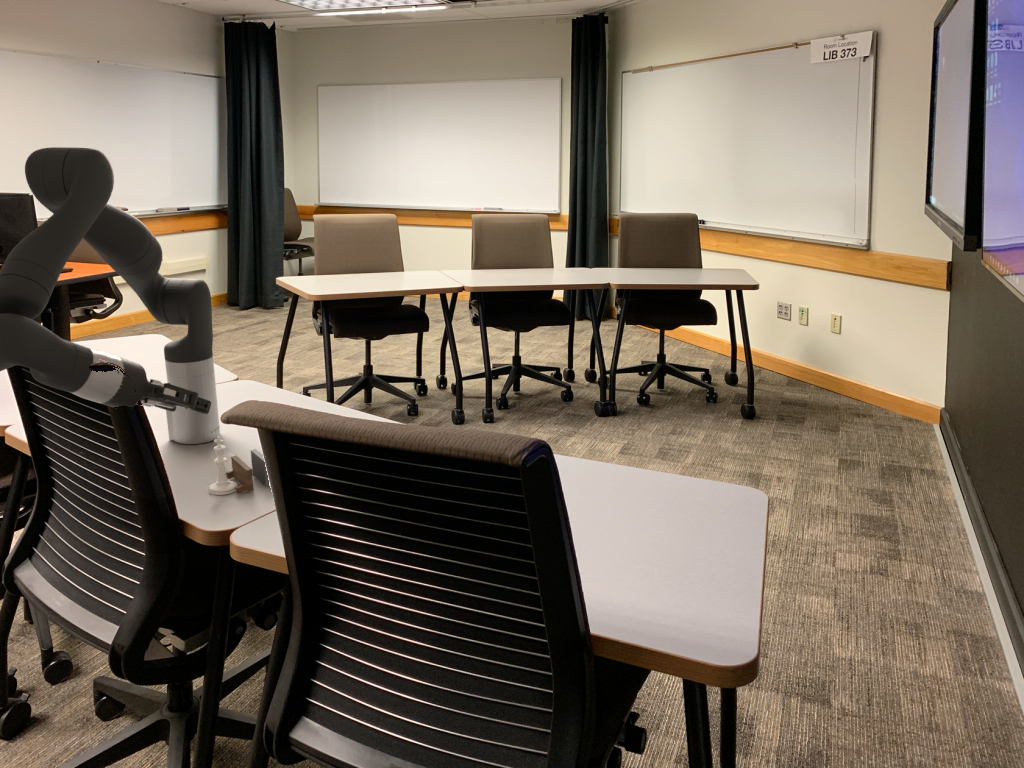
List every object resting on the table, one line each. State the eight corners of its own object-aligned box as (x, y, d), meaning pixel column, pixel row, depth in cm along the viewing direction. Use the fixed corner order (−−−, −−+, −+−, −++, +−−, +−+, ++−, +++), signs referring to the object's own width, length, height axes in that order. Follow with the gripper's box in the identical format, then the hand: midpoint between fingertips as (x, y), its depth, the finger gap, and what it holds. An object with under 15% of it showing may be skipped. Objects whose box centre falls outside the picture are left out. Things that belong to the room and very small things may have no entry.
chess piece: (229, 496, 154) (224, 442, 152) (203, 493, 155) (198, 440, 152) (242, 485, 159) (238, 433, 156) (217, 483, 160) (213, 431, 157)
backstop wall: (266, 487, 158) (264, 461, 157) (252, 475, 163) (250, 450, 162) (271, 486, 159) (269, 460, 157) (257, 474, 164) (255, 449, 163)
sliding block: (237, 494, 154) (235, 472, 153) (222, 479, 161) (220, 458, 160) (253, 490, 156) (252, 469, 155) (238, 475, 162) (236, 455, 161)
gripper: (141, 355, 130) (226, 386, 143) (84, 354, 137) (170, 383, 150) (127, 404, 128) (214, 431, 141) (70, 400, 136) (158, 426, 149)
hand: (191, 406), depth 146 cm, fingers open, 8 cm apart
